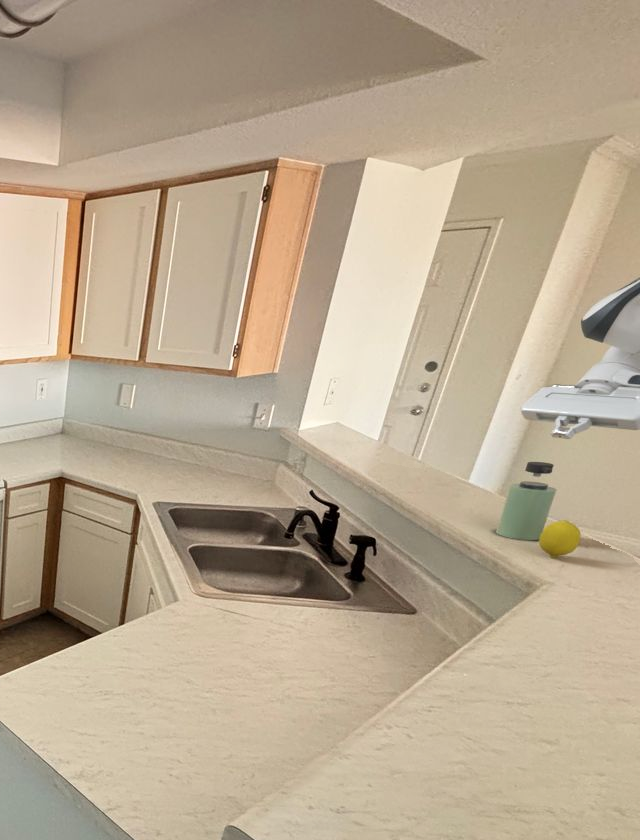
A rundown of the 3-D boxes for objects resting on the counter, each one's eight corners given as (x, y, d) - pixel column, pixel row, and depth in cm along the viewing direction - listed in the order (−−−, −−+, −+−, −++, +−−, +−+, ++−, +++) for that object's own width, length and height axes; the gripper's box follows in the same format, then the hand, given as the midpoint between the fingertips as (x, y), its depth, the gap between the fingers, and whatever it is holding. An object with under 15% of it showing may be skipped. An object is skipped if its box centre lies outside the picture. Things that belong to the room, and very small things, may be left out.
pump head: (544, 474, 129) (549, 462, 128) (559, 481, 123) (563, 468, 122) (520, 473, 130) (524, 461, 129) (533, 480, 125) (537, 467, 124)
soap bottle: (532, 532, 134) (549, 481, 130) (546, 542, 128) (564, 488, 124) (490, 528, 137) (506, 478, 133) (502, 538, 131) (518, 486, 127)
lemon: (579, 563, 116) (593, 525, 114) (544, 561, 118) (557, 523, 115) (561, 553, 121) (574, 517, 119) (527, 551, 123) (539, 515, 120)
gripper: (542, 374, 133) (498, 420, 134) (671, 379, 115) (620, 433, 115) (549, 393, 136) (506, 438, 137) (677, 401, 117) (627, 454, 118)
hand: (559, 436), depth 126 cm, fingers closed
